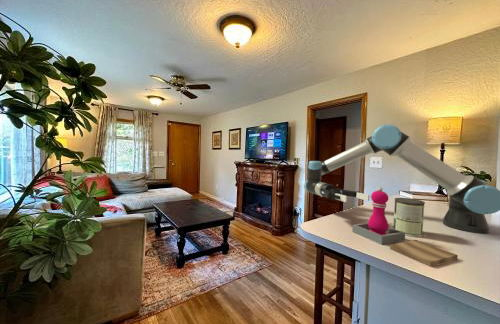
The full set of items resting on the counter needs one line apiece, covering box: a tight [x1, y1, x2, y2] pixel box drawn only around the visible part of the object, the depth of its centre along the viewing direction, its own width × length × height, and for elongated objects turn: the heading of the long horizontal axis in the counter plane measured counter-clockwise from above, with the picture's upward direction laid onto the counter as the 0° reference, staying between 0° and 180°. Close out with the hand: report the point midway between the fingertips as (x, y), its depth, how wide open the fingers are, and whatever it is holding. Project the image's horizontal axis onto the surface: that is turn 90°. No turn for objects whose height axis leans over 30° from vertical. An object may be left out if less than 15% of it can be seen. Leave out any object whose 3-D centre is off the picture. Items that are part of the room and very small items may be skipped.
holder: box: [351, 222, 406, 245], centre depth 83 cm, size 13×13×3 cm
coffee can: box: [392, 197, 426, 238], centre depth 88 cm, size 10×10×14 cm
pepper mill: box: [367, 186, 390, 235], centre depth 83 cm, size 7×7×20 cm
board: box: [389, 239, 459, 268], centre depth 69 cm, size 14×12×2 cm
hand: (357, 198), depth 93 cm, fingers open, 13 cm apart
